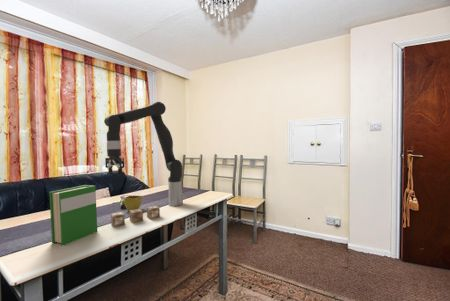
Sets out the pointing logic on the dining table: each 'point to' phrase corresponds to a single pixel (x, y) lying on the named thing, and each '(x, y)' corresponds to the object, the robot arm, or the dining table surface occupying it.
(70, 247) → the dining table surface
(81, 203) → the hardback book
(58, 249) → the dining table surface
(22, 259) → the dining table surface
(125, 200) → the flower pot
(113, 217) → the labelled block
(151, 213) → the labelled block
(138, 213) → the plain block
